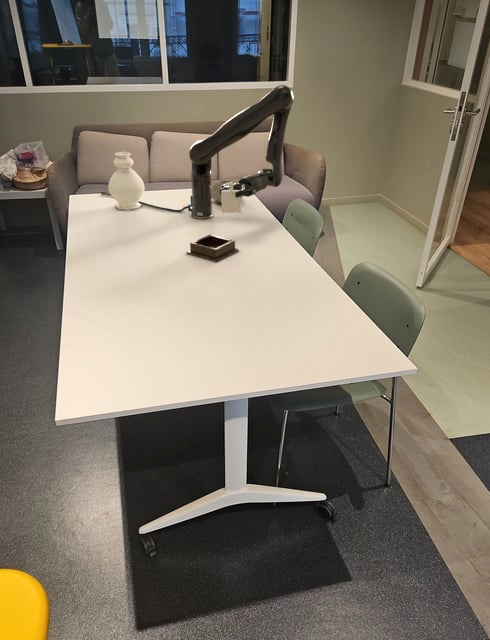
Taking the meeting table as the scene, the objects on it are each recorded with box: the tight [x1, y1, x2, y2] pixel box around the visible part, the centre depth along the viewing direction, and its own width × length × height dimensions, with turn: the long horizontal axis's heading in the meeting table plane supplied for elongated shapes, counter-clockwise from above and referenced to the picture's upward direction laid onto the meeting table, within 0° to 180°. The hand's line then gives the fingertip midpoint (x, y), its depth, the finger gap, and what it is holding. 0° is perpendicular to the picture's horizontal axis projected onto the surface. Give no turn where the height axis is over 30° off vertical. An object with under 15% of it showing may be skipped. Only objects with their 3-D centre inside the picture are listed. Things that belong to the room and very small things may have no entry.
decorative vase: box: [107, 151, 146, 211], centre depth 250 cm, size 18×18×25 cm
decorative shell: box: [211, 179, 244, 204], centre depth 264 cm, size 18×18×10 cm
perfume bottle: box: [220, 182, 242, 214], centre depth 207 cm, size 8×2×12 cm, turn 91°
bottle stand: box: [186, 234, 239, 263], centre depth 203 cm, size 15×15×4 cm
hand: (228, 193), depth 205 cm, fingers closed on perfume bottle, 7 cm apart
